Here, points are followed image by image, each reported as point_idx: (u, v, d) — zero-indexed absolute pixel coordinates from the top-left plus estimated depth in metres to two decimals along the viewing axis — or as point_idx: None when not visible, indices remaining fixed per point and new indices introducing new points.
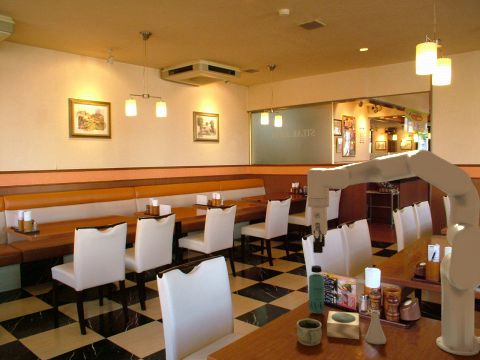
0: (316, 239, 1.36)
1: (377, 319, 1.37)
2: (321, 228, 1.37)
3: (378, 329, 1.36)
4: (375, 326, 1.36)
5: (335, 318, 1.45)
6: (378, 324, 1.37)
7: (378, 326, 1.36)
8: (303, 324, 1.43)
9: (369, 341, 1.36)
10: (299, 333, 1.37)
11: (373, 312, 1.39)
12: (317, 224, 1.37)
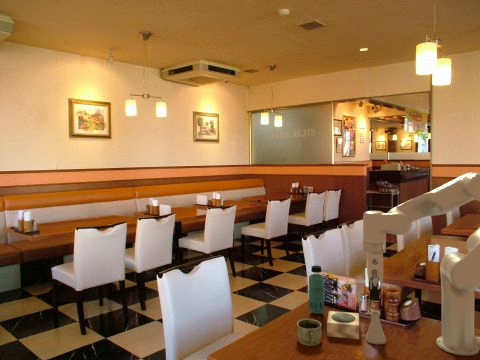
0: (374, 287, 1.31)
1: (378, 319, 1.37)
2: (378, 275, 1.32)
3: (378, 329, 1.36)
4: (375, 326, 1.36)
5: (335, 318, 1.45)
6: (378, 324, 1.37)
7: (378, 326, 1.36)
8: (303, 324, 1.43)
9: (369, 341, 1.36)
10: (299, 333, 1.37)
11: (373, 312, 1.39)
12: (374, 271, 1.32)
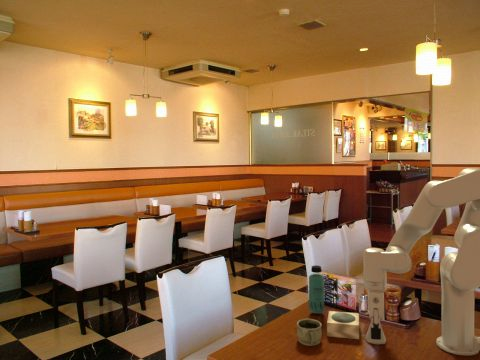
0: (375, 326, 1.33)
1: None
2: (380, 314, 1.32)
3: None
4: None
5: (335, 318, 1.45)
6: None
7: None
8: (303, 324, 1.43)
9: (369, 341, 1.36)
10: (299, 333, 1.37)
11: None
12: (376, 311, 1.33)
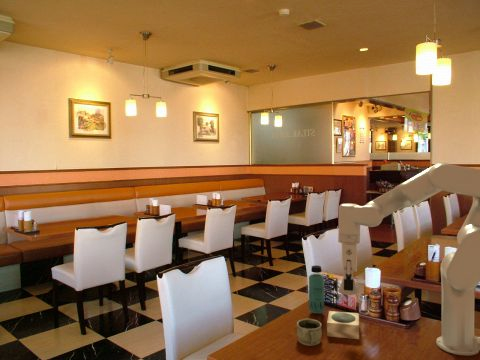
0: (347, 277, 1.39)
1: None
2: (352, 265, 1.38)
3: None
4: None
5: (335, 318, 1.45)
6: None
7: None
8: (303, 324, 1.43)
9: (342, 292, 1.42)
10: (299, 333, 1.37)
11: None
12: (348, 262, 1.38)
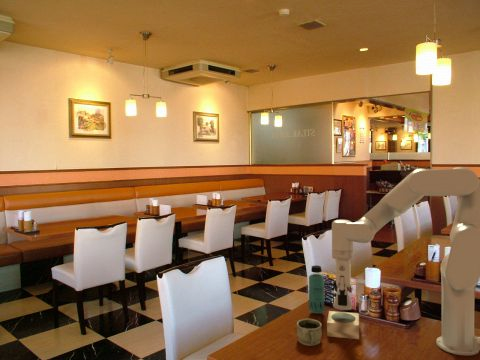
0: (341, 293, 1.41)
1: None
2: (346, 281, 1.40)
3: None
4: None
5: (335, 318, 1.45)
6: None
7: None
8: (303, 324, 1.43)
9: (336, 307, 1.44)
10: (299, 333, 1.37)
11: None
12: (342, 278, 1.40)
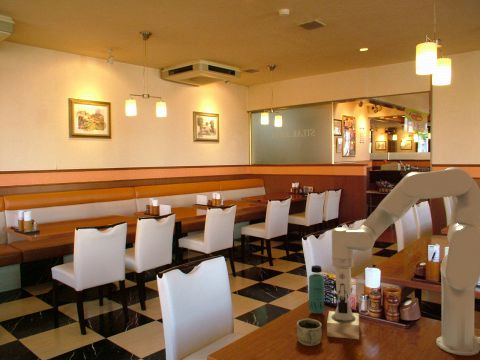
0: (341, 300, 1.40)
1: None
2: (346, 289, 1.40)
3: None
4: None
5: (335, 318, 1.45)
6: None
7: None
8: (303, 324, 1.43)
9: (337, 318, 1.44)
10: (299, 333, 1.37)
11: None
12: (342, 285, 1.40)
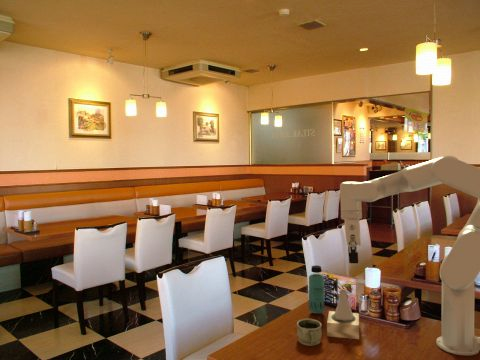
0: (352, 250, 1.42)
1: (345, 297, 1.44)
2: (356, 239, 1.43)
3: (346, 306, 1.44)
4: (343, 303, 1.44)
5: (335, 318, 1.45)
6: (346, 302, 1.44)
7: (346, 303, 1.44)
8: (303, 324, 1.43)
9: (337, 318, 1.44)
10: (299, 333, 1.37)
11: (342, 291, 1.47)
12: (352, 235, 1.43)
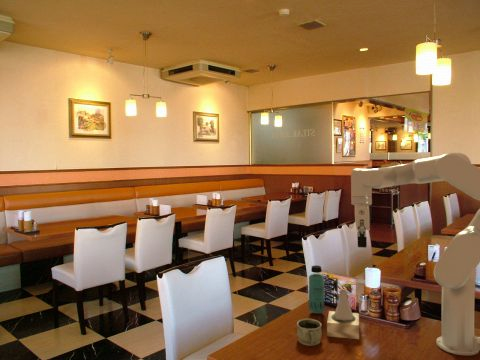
0: (361, 234, 1.46)
1: (345, 297, 1.44)
2: (365, 224, 1.47)
3: (346, 306, 1.44)
4: (343, 303, 1.44)
5: (335, 318, 1.45)
6: (346, 302, 1.44)
7: (346, 303, 1.44)
8: (303, 324, 1.43)
9: (337, 318, 1.44)
10: (299, 333, 1.37)
11: (342, 291, 1.47)
12: (361, 220, 1.48)
